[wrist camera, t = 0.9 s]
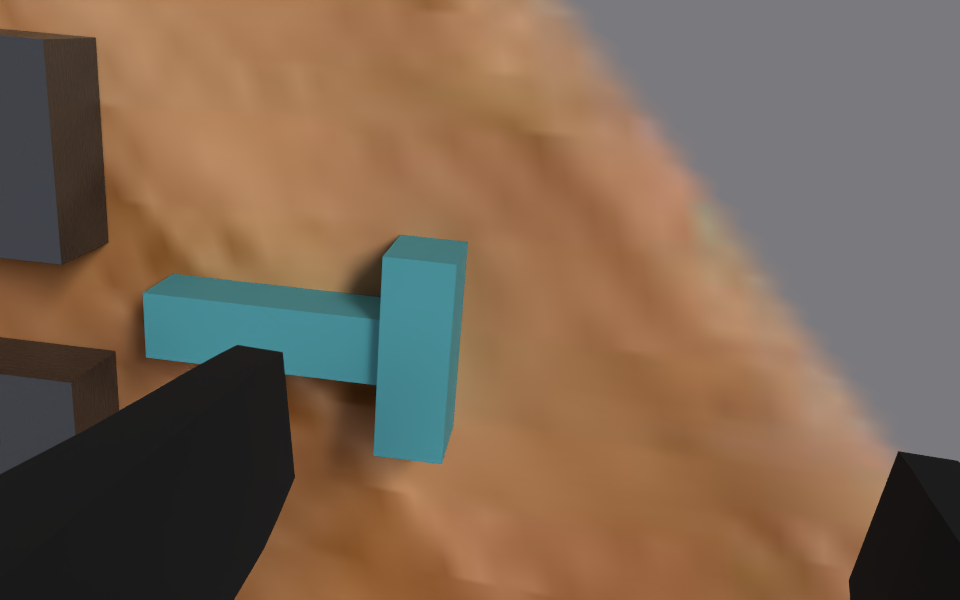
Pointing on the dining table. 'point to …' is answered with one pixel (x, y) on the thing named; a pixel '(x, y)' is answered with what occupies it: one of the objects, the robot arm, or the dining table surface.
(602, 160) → the dining table surface
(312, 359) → the teal t-shaped bar
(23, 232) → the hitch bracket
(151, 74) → the dining table surface
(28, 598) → the robot arm
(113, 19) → the dining table surface
